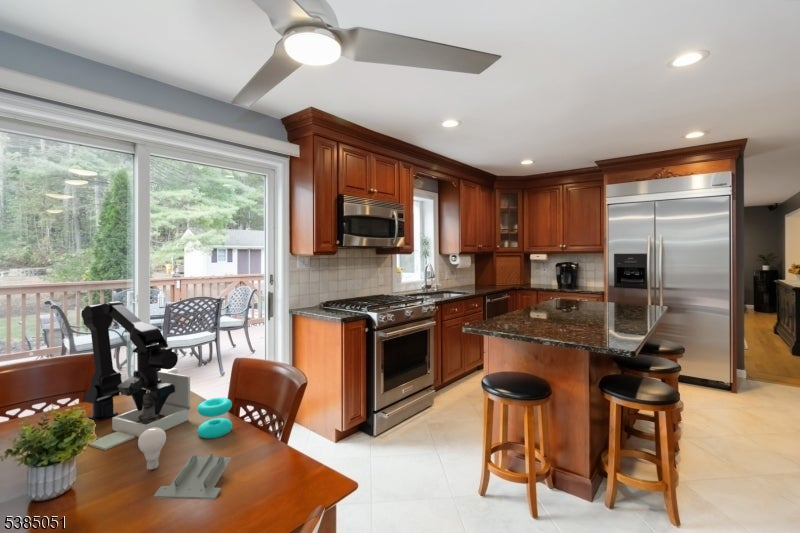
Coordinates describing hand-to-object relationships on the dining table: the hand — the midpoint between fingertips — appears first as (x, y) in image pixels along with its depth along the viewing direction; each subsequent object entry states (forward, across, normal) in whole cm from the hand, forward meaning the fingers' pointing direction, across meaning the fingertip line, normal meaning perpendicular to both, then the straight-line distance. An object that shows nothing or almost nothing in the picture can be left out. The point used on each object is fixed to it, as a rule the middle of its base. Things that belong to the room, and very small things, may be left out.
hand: (148, 412), depth 128 cm
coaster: (+4, 0, -12) cm, 12 cm away
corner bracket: (+5, -14, +16) cm, 22 cm away
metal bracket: (+5, +43, -17) cm, 47 cm away
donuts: (+5, +24, +5) cm, 25 cm away
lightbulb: (+5, +26, -17) cm, 32 cm away
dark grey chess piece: (+5, 0, 0) cm, 5 cm away
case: (+4, 0, +1) cm, 5 cm away
